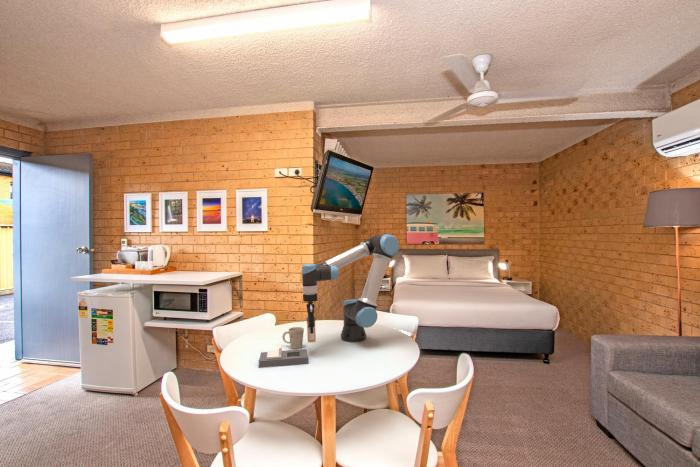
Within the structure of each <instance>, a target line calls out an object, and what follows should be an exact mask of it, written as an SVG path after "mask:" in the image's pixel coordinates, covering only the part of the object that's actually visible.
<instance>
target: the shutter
mask: <svg viewBox="0 0 700 467" xmlns="http://www.w3.org/2000/svg"><path fill="white" fill-rule="evenodd" d="M282 346H283V344H282V343H279V345H278V350H276V349H275V350H267V352H268V353H267V359H274V358H281V356H282V351H283V348H282Z"/></svg>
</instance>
